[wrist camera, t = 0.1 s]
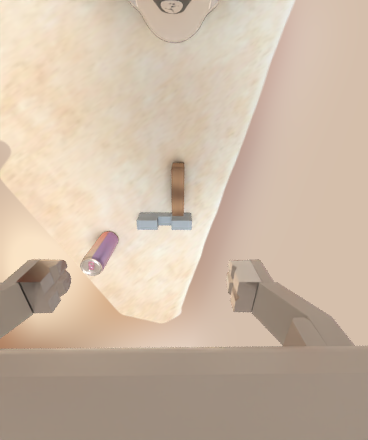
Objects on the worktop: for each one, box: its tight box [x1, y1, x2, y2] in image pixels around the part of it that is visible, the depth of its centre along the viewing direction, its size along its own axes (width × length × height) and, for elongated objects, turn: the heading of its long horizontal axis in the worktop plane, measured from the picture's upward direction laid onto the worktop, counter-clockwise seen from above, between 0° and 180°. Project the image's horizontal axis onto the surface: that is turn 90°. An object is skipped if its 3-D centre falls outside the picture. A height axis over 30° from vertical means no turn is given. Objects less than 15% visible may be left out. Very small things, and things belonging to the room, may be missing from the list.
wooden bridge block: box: [171, 163, 184, 216], centre depth 52 cm, size 12×3×10 cm, turn 179°
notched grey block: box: [137, 213, 192, 230], centre depth 59 cm, size 3×16×6 cm, turn 89°
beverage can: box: [80, 232, 118, 276], centre depth 57 cm, size 6×6×15 cm
